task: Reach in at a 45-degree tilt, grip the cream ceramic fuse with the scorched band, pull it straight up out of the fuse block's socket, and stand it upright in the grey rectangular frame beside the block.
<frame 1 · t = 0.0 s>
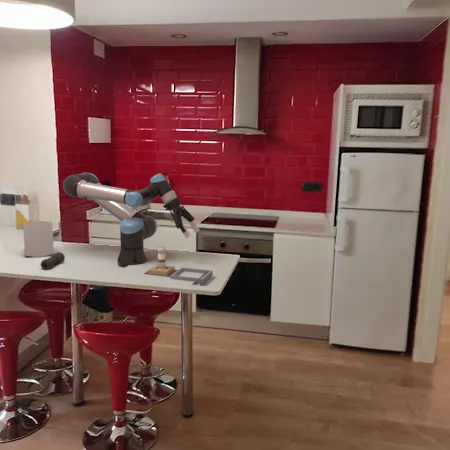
hand: (193, 234, 246), 15 cm above the breakfast bar, fingers open, 13 cm apart
electrical switch box: (39, 253, 261), on the breakfast bar
grey rectangular frame: (192, 279, 222), on the breakfast bar
blown fuse: (161, 271, 227), point 1 cm above the breakfast bar, touching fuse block
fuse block: (161, 274, 228), on the breakfast bar
flashlight: (53, 266, 239), on the breakfast bar
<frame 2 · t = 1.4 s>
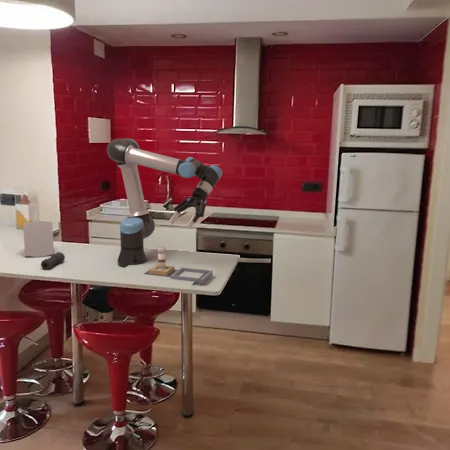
hand: (179, 224, 230), 23 cm above the breakfast bar, fingers open, 13 cm apart
nothing on the breakfast bar moved.
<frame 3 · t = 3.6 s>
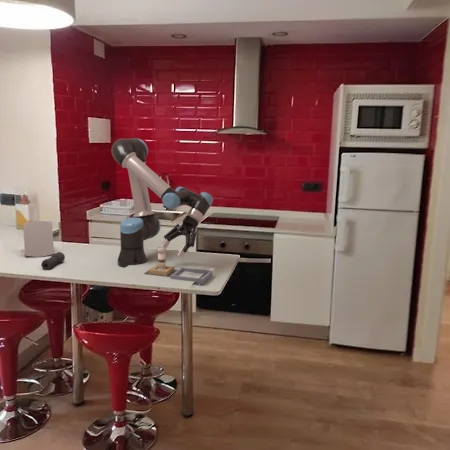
hand: (169, 254, 227), 10 cm above the breakfast bar, fingers open, 13 cm apart
nothing on the breakfast bar moved.
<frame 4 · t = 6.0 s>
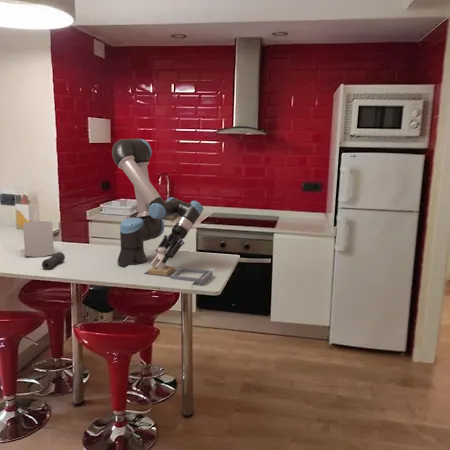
hand: (155, 266, 224), 5 cm above the breakfast bar, fingers closed on blown fuse, 4 cm apart
blown fuse: (161, 271, 227), point 2 cm above the breakfast bar, touching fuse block, gripper
everything else where it was.
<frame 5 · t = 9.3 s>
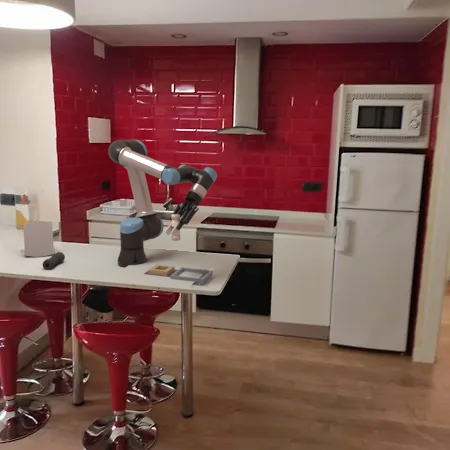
hand: (169, 233, 218), 22 cm above the breakfast bar, fingers closed on blown fuse, 4 cm apart
blown fuse: (176, 239, 221), point 18 cm above the breakfast bar, touching gripper
everything else where it was.
when the fingers open (6 cm above the breakfast bar, at t = 13.1 s): blown fuse drops 2 cm, resting on grey rectangular frame.
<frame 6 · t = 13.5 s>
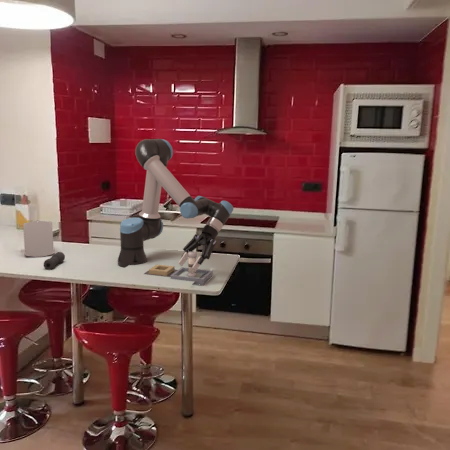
hand: (187, 266, 219), 7 cm above the breakfast bar, fingers open, 9 cm apart
blown fuse: (192, 277, 222), point 1 cm above the breakfast bar, touching grey rectangular frame
everything else where it was.
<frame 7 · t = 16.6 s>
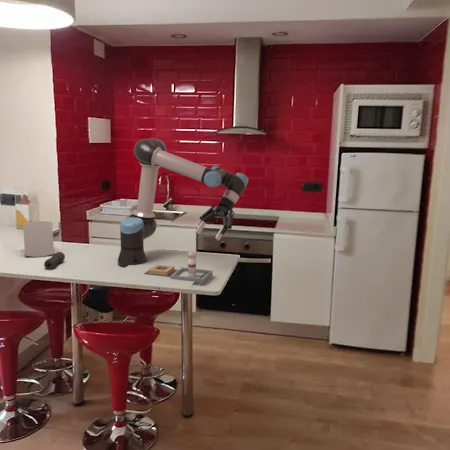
hand: (207, 236, 228), 19 cm above the breakfast bar, fingers open, 13 cm apart
nothing on the breakfast bar moved.
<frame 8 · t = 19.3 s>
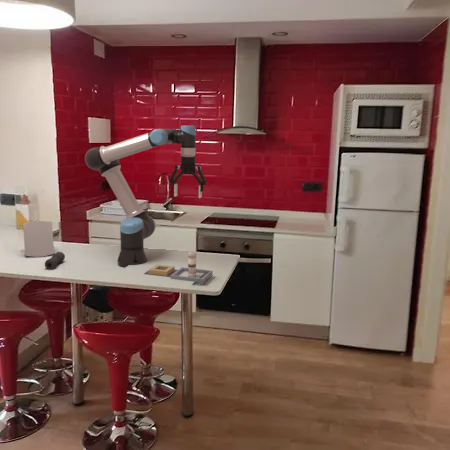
hand: (187, 197, 245), 35 cm above the breakfast bar, fingers open, 13 cm apart
at the end: blown fuse inside the target area on the grey rectangular frame (0.0 cm from its centre), point 1.0 cm above the grey rectangular frame's base; blown fuse tilted 0°; the gripper is holding nothing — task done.
